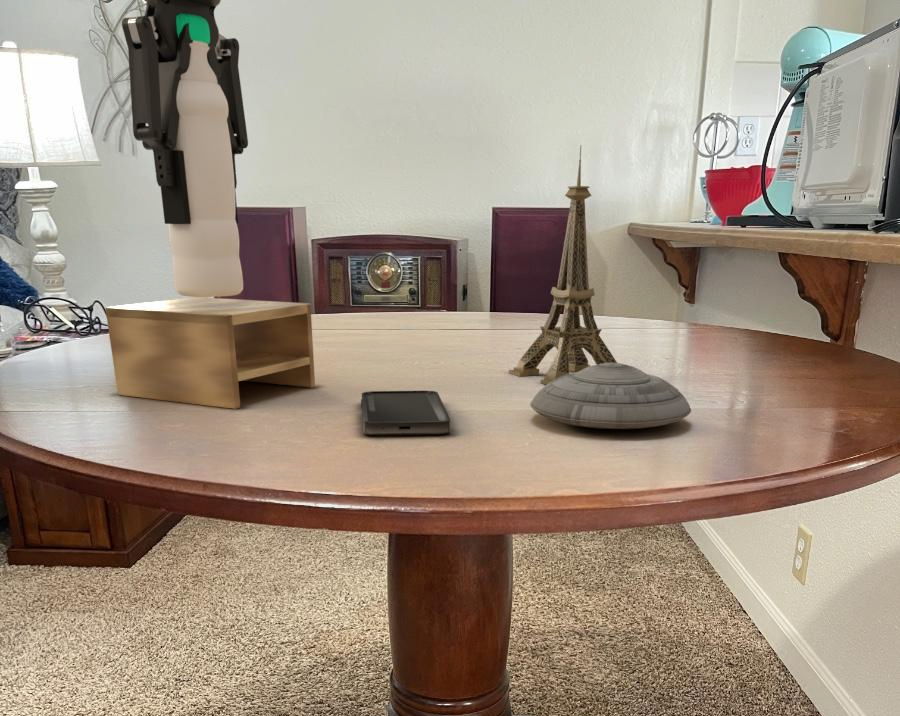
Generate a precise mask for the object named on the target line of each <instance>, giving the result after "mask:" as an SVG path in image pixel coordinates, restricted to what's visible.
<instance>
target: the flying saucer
mask: <svg viewBox="0 0 900 716" xmlns="http://www.w3.org/2000/svg"><path fill="white" fill-rule="evenodd" d="M529 406H530V407H531V409H532V410H533V411H534V412H535V413H537V414H538V415H540V416H542V417H544V418H547V419H548V420H552V421H555V422H558V423H562V424H566V425H572V426H576V427H584V428H592V429H604V430H634V429H637V430H638V429H646V428H655V427H660V426H665V425H670V424H673V423H676V422H679V421H681V420H683V419H684V418H686V417H688V416H689V415H690V414H691V413H692V408H691V406H690V403H689V402H688V400H687V399H686V397H685V396H684V395H683V394H682V392H681V391H680V390H679V389H678V388H677V387H675V386H674V385H672V384H671V383H670V382H668V381H667V380H665V379H663V378H661V377H659V376H656V375H653V374H648V373H646V372H645V371H643V370H642V369H640V368H637V367H634V366H632V365H628V364H625V363H620V362H617V363H602V364H593V365H590V367H587V368H585V369H582V370H580V371H579V372H573V371H572V372H569V374H565V375H563V376H561V377H559V378H557V379H555V380H553V381H551V382H550V383H548V384H547V385H546V384H544V386H543V387H541V389H539V391H537V393H536V394H535V395H534V397H533V398H532V400H531V402H530V403H529Z"/></svg>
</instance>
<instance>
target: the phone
mask: <svg viewBox="0 0 900 716" xmlns="http://www.w3.org/2000/svg"><path fill="white" fill-rule="evenodd" d="M360 408H361V411H362V412H361V413H362V432H363V434H365V435H367V436H368V435H369V436H409V435H411V436H412V435H413V436H414V435H415V436H416V435H417V436H418V435H444V434H445V435H446V434H449V433H450V432H451V418H450V415H449V414H448V411H447V409H446V407H445V405H444V403H443V400H442V399H441V396H440V394H439V392H438V391H435V390H372V391H371V390H370V391H369V390H368V391H364V392H362V393H361V398H360Z"/></svg>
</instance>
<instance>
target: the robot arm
mask: <svg viewBox="0 0 900 716" xmlns="http://www.w3.org/2000/svg"><path fill="white" fill-rule="evenodd" d="M221 1H222V0H142V2H144V3H145V4H146V7H145V12H144V15H140V16H131V17H124V18H122V20H121V27H122V31H123V35H124V38H125V42H126V45H127V51H128V52H127V54H128V68H129V83H130V85H129V86H130V99H131V100H130V101H131V117H132V118H131V119H132V133H133V138H134V139H135V140H136V141H139V142H141V143H142V147H143V148H144V149H145V150H147V151H152V153H153V160H154V170H155V178H156V183H157V186H158V187H160V193H161V202H162V203H161V204H162V209H163V210H162V211H163V220H164V224H165V225H169V224H191V220H190V210H189V200H188V191H187V181H186V171H185V162H184V152H183V151H181V150H173V149H174V148H175V147H176V142H177V133H178V125H179V116H180V114H179V112H178V108H177V101H176V96H177V89H178V85H179V81H180V80H181V75H182V74H184V73H186V72H187V70H188V68H189V63H190V55H191V47H190V45H189V44H190V43H192V42H193V40H191V38H190V33H189V23H187V24H185V25H184V26H183V28H182V31H181V32H180V34H179V38H178V34H177V25H176V18H177V15H179V14H180V13H182V14H183V13H184V14H193V15H197V16H200V17H202V18H204V19H205V20H206V21H207V22H208V25H209V30H210V44H208V47H209V48H210V49H209V50H208V52H207V60H208V63H209V65H210V67H211V69H212V70H213V72H214V73H215V75H216V78H217V84H218V85H220V87H221V89H222V91H223V93H224V95H225V97H226V100H227V103H228V118H227V124H228V129H229V135H230V142H231V150H232V160H233V171H234V184H235V189H237V184H238V180H237V169H236V155H242V154H243V153H244V149H247V148H248V146H249V138H248V131H247V130H248V129H247V124H246V123H247V122H246V116H245V108H244V99H243V93H242V85H241V77H240V70H239V69H240V68H239V57H240V43H239V41H238V39H237V38H235V37H232V38H231V37H230V38H227V37H225V36H223V35H222V34H220V31H219V27H218V24H217V22H216V17H215V10H216V8H217V6H219V5H220V3H221ZM236 194H237V193H236V191H235V220H236V223H237V224H239V218H238V217H239V216H238V205H237V195H236Z"/></svg>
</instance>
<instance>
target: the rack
mask: <svg viewBox="0 0 900 716" xmlns="http://www.w3.org/2000/svg"><path fill="white" fill-rule="evenodd" d="M105 315H106V321H107V328H108V335H109V336H108V337H109V342H110V343H109V344H110V349H111V355H112V356H111V358H112V365H113V370H114V377H115V384H116V391H117V395H118V396H125V397H133V398H140V399H149V400H157V401H158V400H159V401H167V402H174V403H184V404H191V405H200V406H209V407H217V408H223V409H232V410H238V409H240V408H241V397H240V387H239V382H241V381H243V382H252V383H253V382H254V383H261V384H262V383H263V384H271V385H282V386H292V387H300V388H309V389H311V388H315V387H316V378H315V377H316V376H315V360H314V359H315V358H314V343H313V340H314V339H313V325H312V324H313V323H312V304H311V303H309V302H293V301H291V302H290V301H277V300H276V301H275V300H273V301H272V300H256V299H238V298H221V297H219V298H218V297H186V298H177V299H168V300H159V301H151V302H141V303H131V304H123V305H115V306H106V307H105Z"/></svg>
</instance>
